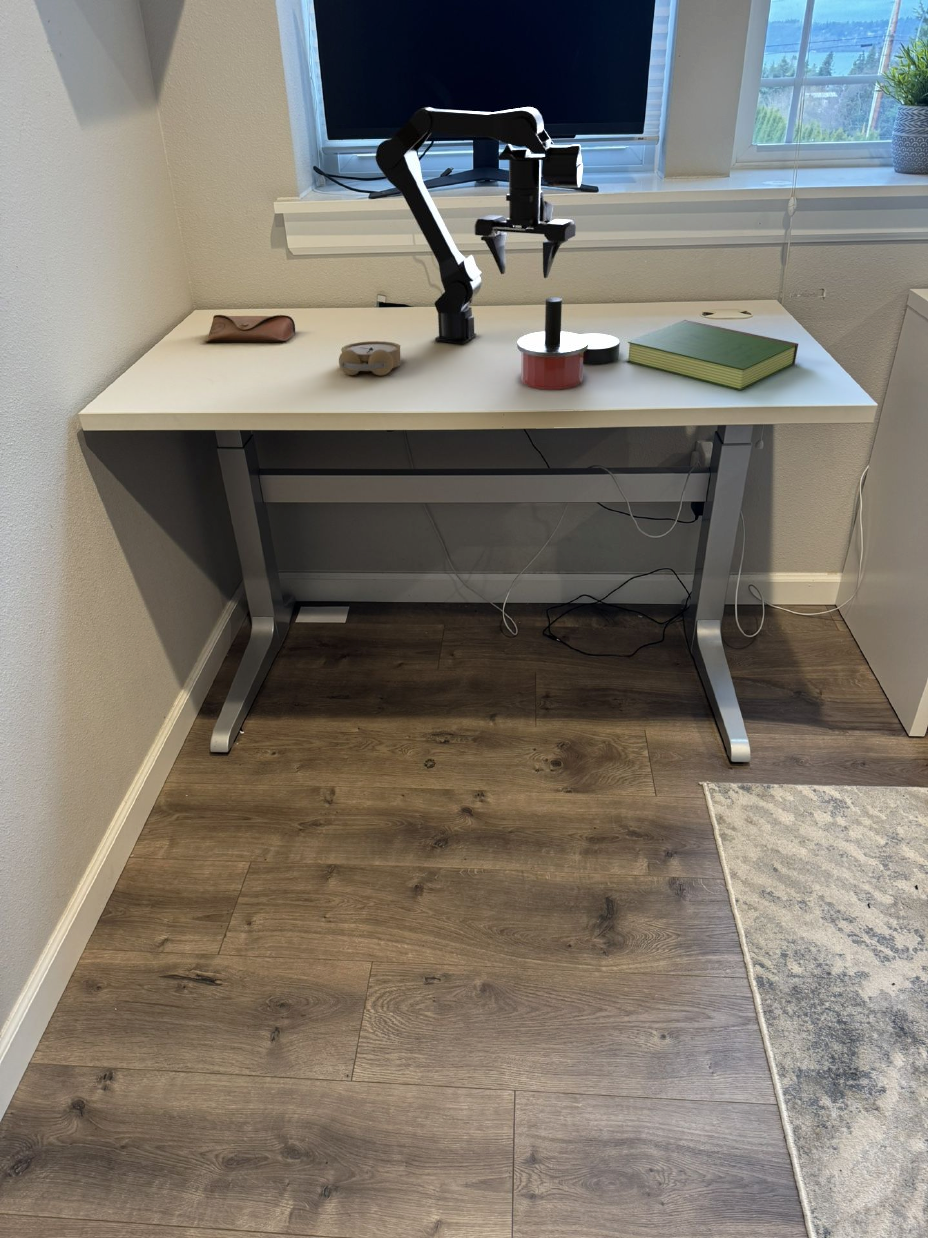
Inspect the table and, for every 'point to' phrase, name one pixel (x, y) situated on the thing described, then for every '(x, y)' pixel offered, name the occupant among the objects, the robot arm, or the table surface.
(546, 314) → the lid
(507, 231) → the robot arm
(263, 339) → the sunglasses case
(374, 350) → the alarm clock
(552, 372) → the red faceted pot
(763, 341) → the hardcover book
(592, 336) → the stand
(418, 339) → the table surface
